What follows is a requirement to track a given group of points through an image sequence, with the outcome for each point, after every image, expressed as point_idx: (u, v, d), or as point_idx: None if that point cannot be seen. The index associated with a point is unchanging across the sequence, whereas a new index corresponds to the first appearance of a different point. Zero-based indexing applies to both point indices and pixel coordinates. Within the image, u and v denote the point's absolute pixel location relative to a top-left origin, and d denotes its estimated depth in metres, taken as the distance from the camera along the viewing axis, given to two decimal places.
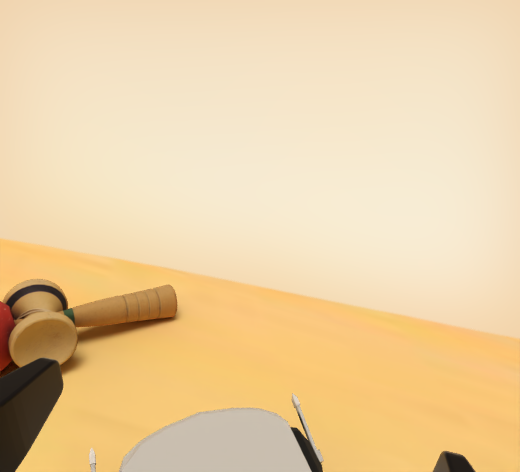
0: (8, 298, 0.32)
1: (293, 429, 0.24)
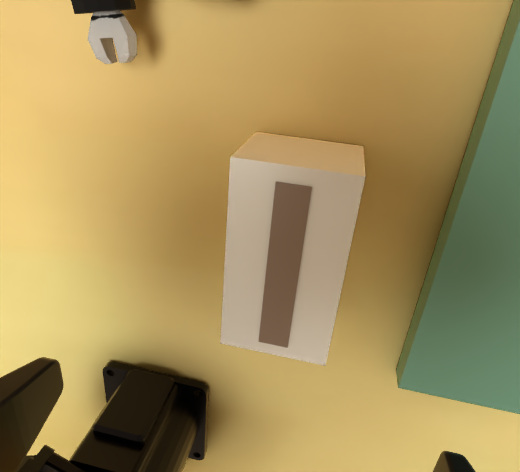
0: None
1: None
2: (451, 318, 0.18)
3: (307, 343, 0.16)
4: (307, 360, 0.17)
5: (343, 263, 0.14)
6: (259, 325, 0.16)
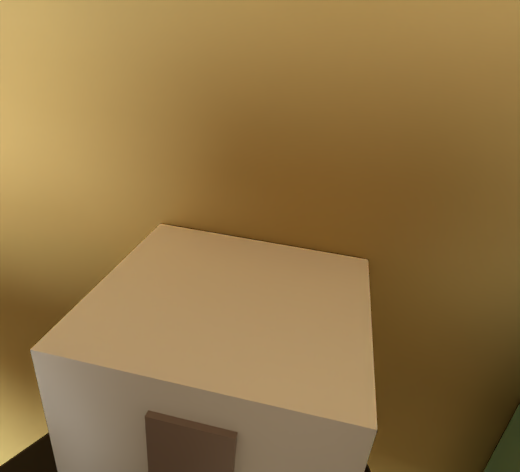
0: None
1: None
2: None
3: None
4: None
5: None
6: None
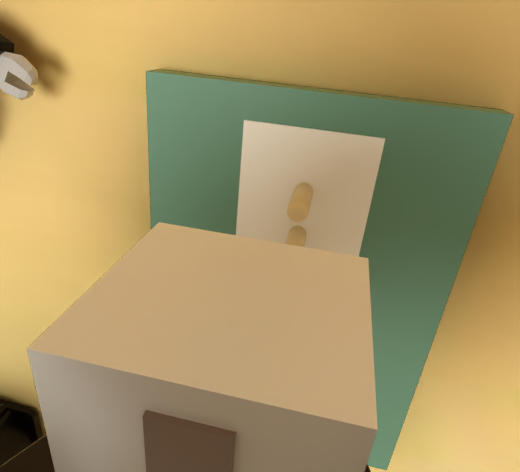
0: None
1: None
2: None
3: None
4: None
5: None
6: None
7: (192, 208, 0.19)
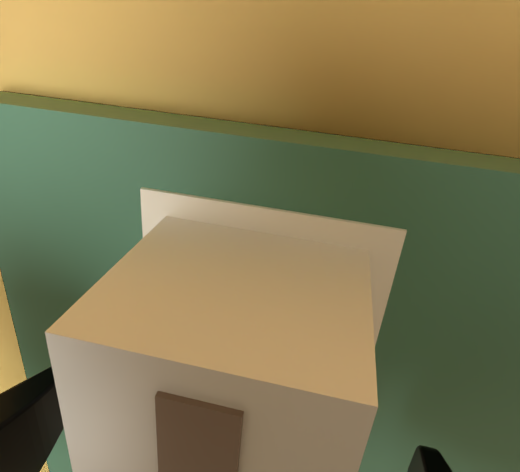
0: None
1: None
2: None
3: None
4: None
5: None
6: None
7: None
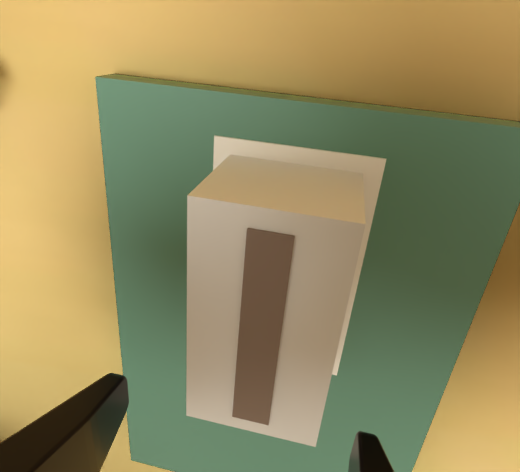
0: None
1: None
2: (148, 408, 0.21)
3: (292, 420, 0.13)
4: (293, 440, 0.13)
5: (337, 330, 0.11)
6: (232, 398, 0.13)
7: (158, 237, 0.16)
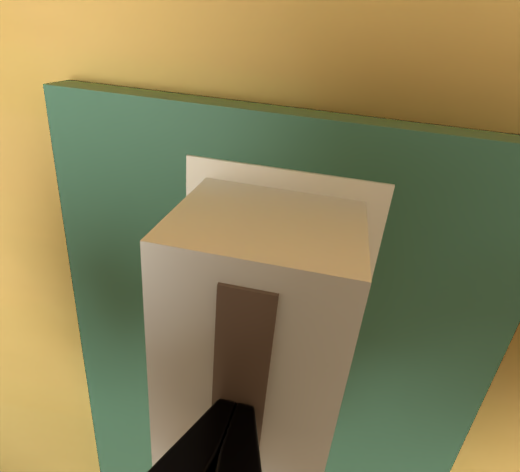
0: None
1: None
2: (121, 456, 0.18)
3: None
4: None
5: (334, 407, 0.09)
6: None
7: (125, 271, 0.14)
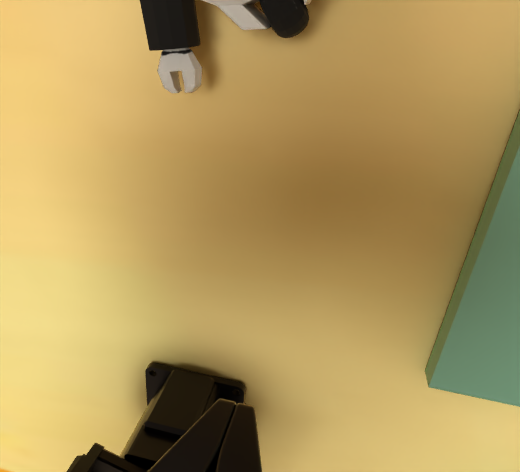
0: None
1: None
2: (481, 323, 0.19)
3: None
4: None
5: None
6: None
7: None
